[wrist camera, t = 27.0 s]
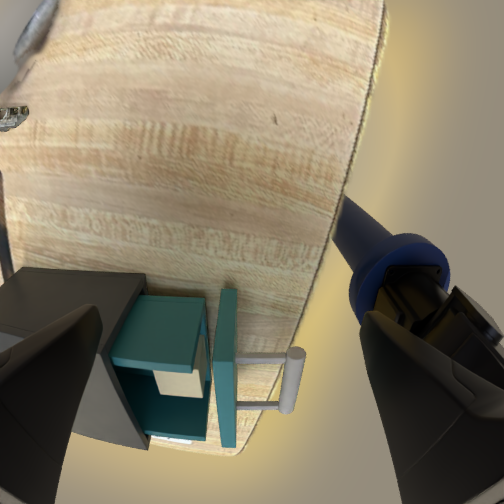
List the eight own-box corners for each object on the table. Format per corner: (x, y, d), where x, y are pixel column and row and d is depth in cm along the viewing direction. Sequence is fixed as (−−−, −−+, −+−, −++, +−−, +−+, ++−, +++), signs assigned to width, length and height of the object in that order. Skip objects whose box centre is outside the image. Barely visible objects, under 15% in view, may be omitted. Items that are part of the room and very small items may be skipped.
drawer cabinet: (144, 273, 23) (100, 354, 14) (166, 375, 28) (148, 450, 20) (22, 266, 23) (-34, 320, 14) (58, 357, 28) (25, 414, 19)
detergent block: (204, 334, 23) (198, 369, 19) (207, 363, 25) (203, 398, 21) (162, 332, 23) (151, 365, 19) (168, 361, 25) (160, 394, 21)
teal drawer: (299, 289, 23) (319, 360, 16) (285, 382, 27) (293, 446, 20) (83, 281, 22) (39, 338, 15) (113, 371, 27) (91, 427, 20)
